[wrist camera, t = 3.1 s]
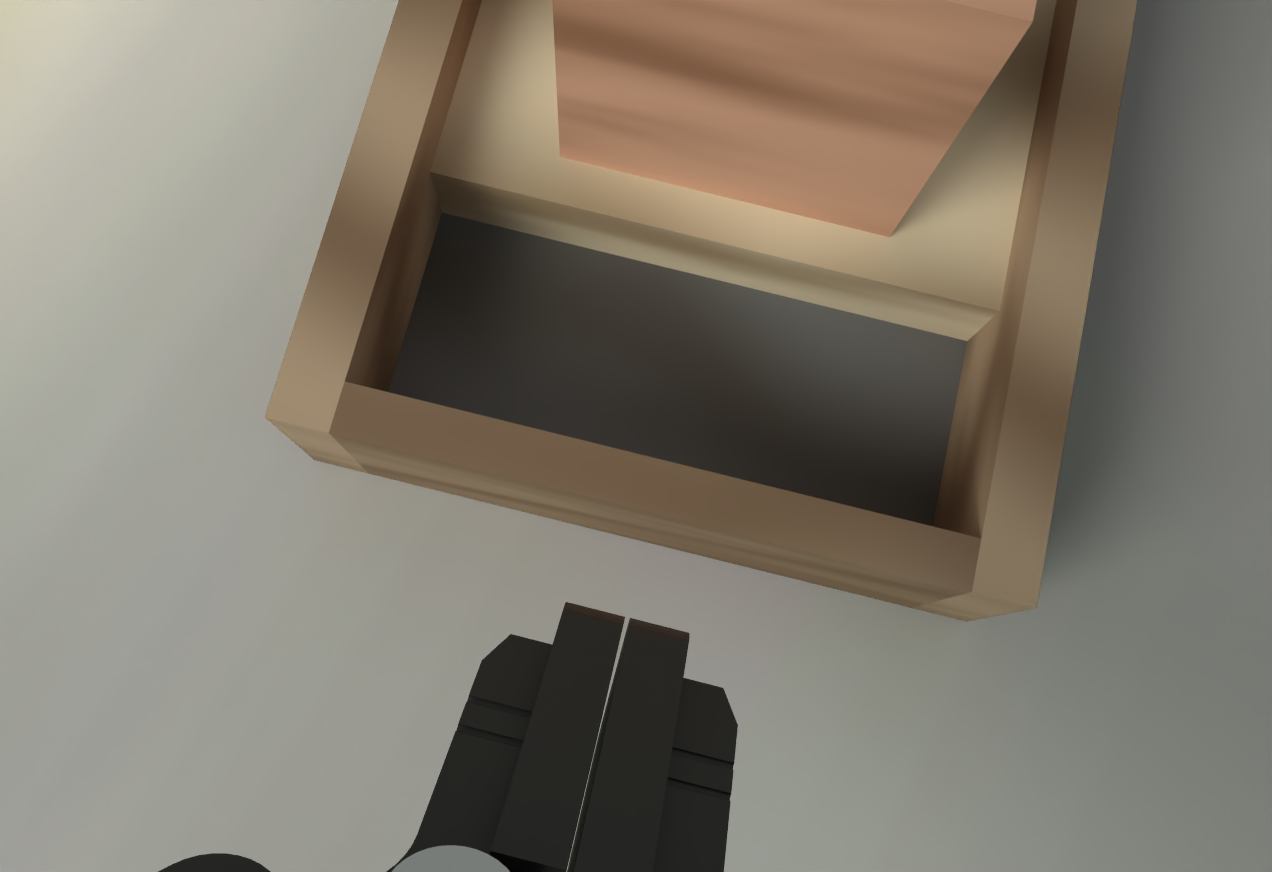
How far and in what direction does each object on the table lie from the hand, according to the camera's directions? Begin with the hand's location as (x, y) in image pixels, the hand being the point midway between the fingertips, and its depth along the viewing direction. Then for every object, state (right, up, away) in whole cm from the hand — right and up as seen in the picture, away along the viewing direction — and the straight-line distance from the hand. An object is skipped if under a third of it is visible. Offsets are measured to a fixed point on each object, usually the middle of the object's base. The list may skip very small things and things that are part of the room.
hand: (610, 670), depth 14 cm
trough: (+4, +16, +15) cm, 22 cm away
